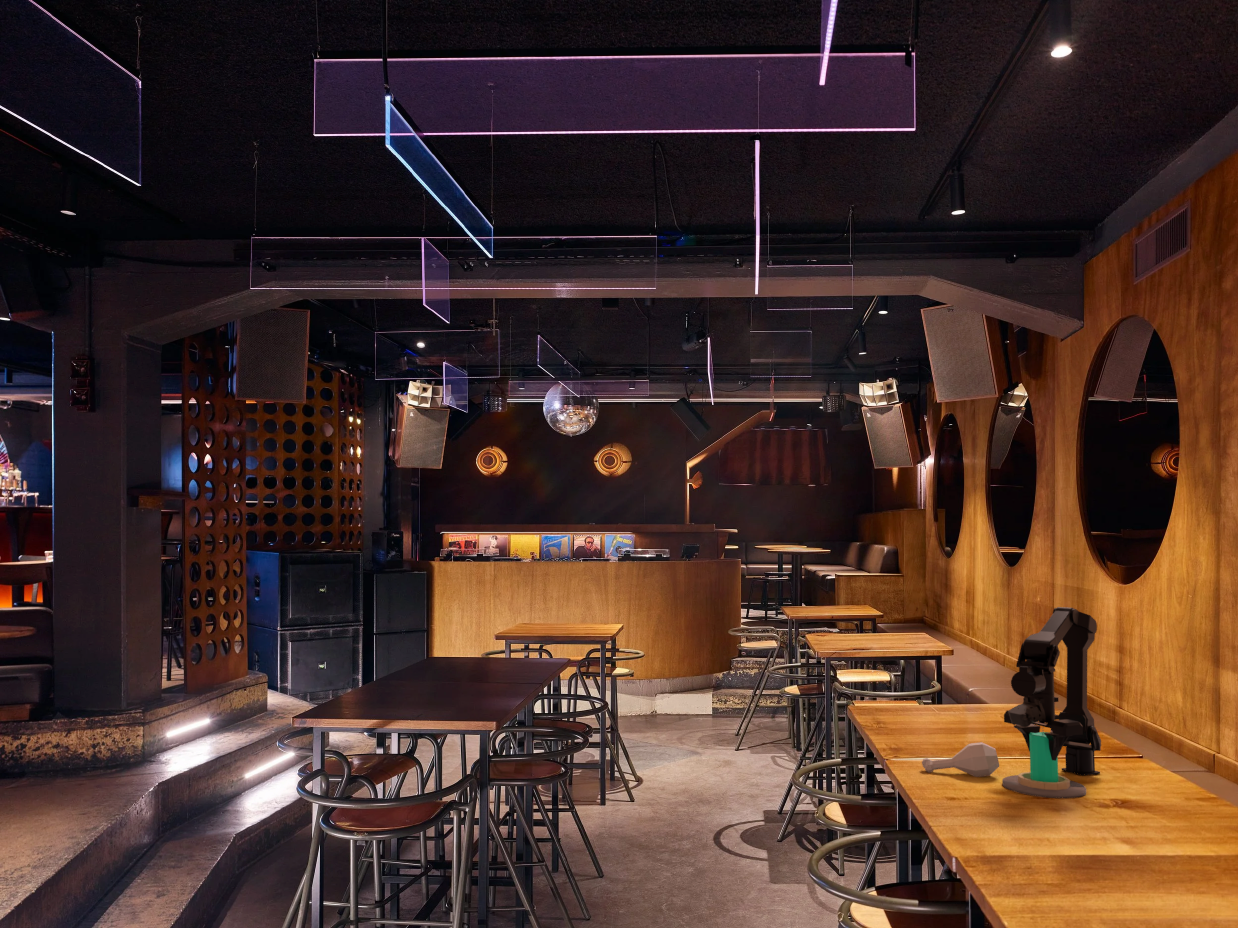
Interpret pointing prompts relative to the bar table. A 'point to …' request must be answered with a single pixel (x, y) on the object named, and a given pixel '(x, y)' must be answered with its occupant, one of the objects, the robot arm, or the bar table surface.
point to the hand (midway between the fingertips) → (1043, 759)
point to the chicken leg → (968, 760)
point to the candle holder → (1044, 786)
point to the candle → (1042, 759)
